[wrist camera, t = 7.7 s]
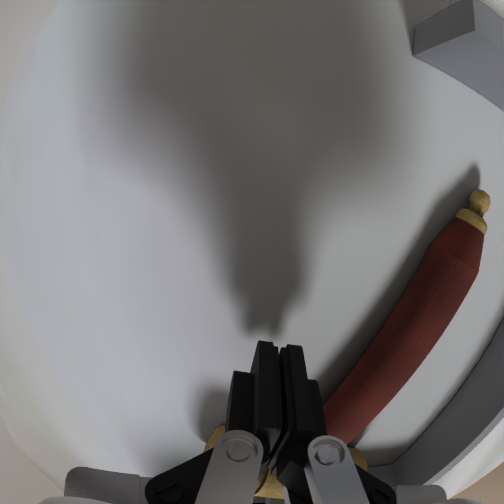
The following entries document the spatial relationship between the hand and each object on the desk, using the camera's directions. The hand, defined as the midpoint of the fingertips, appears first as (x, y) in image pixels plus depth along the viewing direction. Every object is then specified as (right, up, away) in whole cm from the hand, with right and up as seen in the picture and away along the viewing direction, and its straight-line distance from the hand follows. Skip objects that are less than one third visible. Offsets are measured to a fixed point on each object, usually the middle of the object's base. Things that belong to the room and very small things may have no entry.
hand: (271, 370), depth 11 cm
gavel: (+5, -1, +3) cm, 6 cm away
